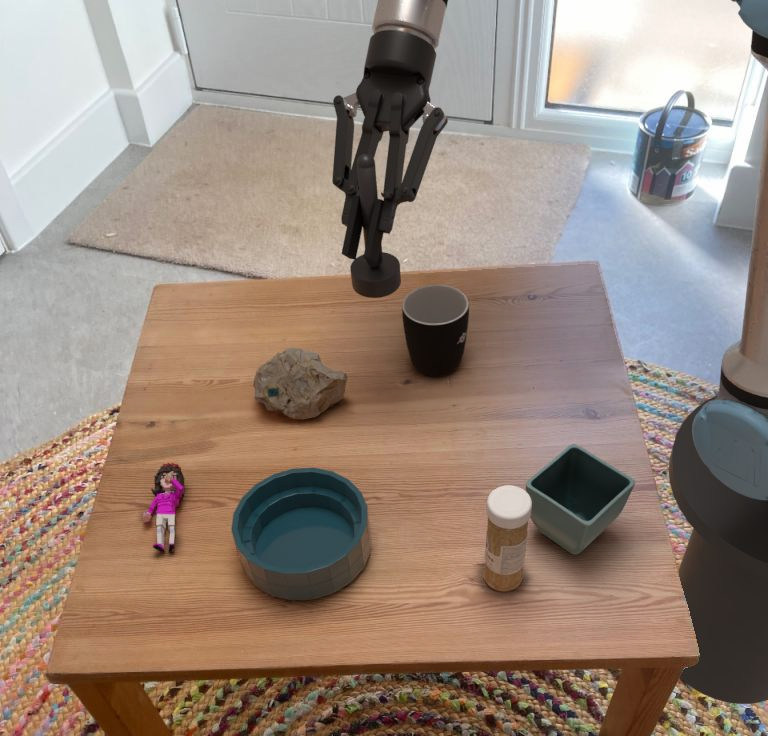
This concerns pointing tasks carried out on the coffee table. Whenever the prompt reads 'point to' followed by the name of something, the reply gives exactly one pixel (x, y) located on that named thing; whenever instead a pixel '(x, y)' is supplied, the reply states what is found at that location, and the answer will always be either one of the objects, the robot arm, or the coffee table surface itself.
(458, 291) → the mug
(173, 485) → the character figurine
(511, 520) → the spice jar
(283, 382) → the rock
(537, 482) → the flower pot
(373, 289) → the peg on disc base
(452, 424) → the coffee table surface
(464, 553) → the coffee table surface
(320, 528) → the bowl
